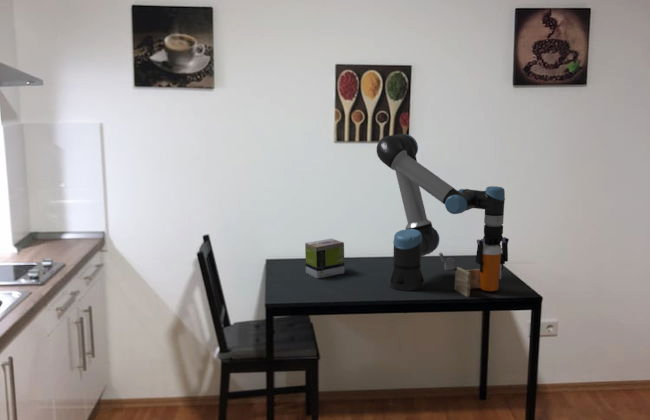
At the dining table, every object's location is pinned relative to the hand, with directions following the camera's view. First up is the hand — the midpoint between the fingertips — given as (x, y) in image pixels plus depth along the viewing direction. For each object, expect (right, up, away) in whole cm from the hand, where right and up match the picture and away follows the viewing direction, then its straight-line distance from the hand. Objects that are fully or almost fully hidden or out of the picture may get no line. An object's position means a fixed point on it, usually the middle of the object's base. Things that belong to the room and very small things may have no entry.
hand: (490, 278), depth 267 cm
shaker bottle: (-1, -4, +1) cm, 4 cm away
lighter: (-12, +1, +33) cm, 35 cm away
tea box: (-69, -1, +25) cm, 73 cm away
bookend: (-6, -5, +1) cm, 8 cm away
